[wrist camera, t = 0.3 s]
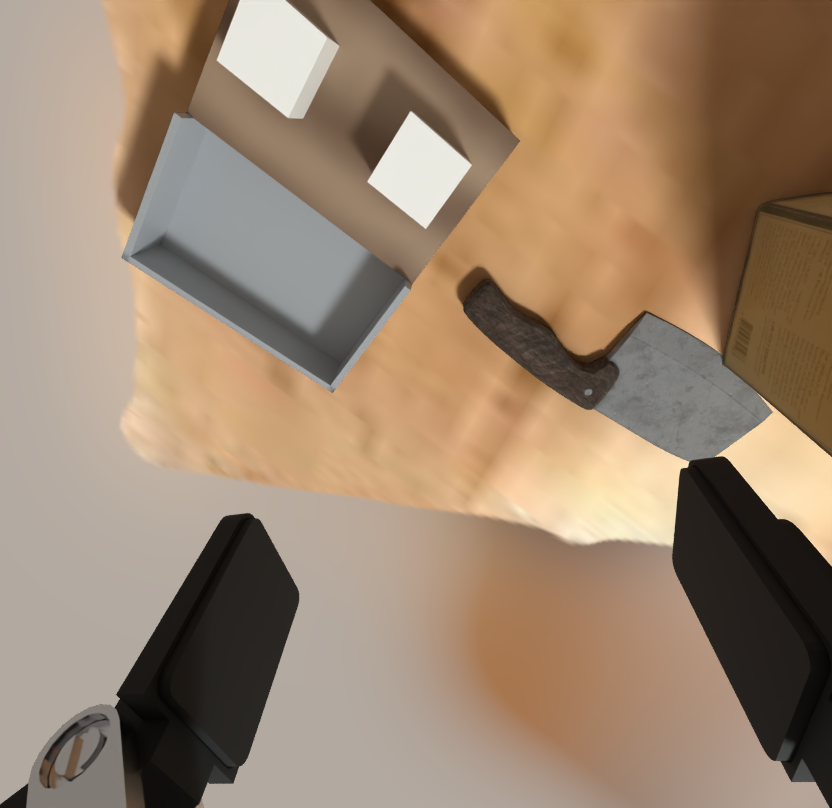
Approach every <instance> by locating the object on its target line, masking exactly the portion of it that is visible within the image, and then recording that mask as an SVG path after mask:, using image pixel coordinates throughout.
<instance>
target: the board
mask: <svg viewBox="0 0 832 808" xmlns="http://www.w3.org/2000/svg"><path fill="white" fill-rule="evenodd" d="M239 1H240V0H229V2H228V4H227V7H226V10H225V12H224V15H223V18H222V20H221V23H220V26H219V28H218V31H217V34H216V36H215V39H214V42H213V44H212V47H211V50H210V52H209V55H208V58H207V60H206V63H205V66H204V68H203V71H202V73H201V76H200V79H199V81H198V84H197V87H196V89H195V92H194V95H193V97H192V100H191V103H190V105H189V108H188V111H187V114H189V115H190V116H191V117H193V118H194V119H195V120H196V121H198V122H199V123H200V124H202V125H203V126H204V127H206V128H207V129H208V130H210V131H211V132H212V133H214V134H215V135H216V136H218V137H219V138H220V139H222V140H223V141H224V142H226V143H227V144H228V145H229V146H231V147H232V148H233V149H235V150H236V151H237V152H239V153H240V154H241V155H243V156H244V157H245V158H247V159H248V160H249V161H251V162H252V163H253V164H255V165H256V166H257V167H258V168H260V169H261V170H262V171H264V172H265V173H266V174H268V175H269V176H270V177H272V178H273V179H274V180H276V181H277V182H278V183H280V184H281V185H282V186H284V187H285V188H286V189H288V190H289V191H290V192H291V193H293V194H294V195H295V196H297V197H298V198H299V199H301V200H302V201H303V202H305V203H306V204H307V205H309V206H310V207H311V208H313V209H314V210H315V211H317V212H318V213H319V214H321V215H322V216H323V217H324V218H326V219H327V220H328V221H330V222H331V223H332V224H334V225H335V226H336V227H338V228H339V229H340V230H342V231H343V232H344V233H346V234H347V235H348V236H350V237H351V238H352V239H353V240H355V241H356V242H357V243H359V244H360V245H361V246H363V247H364V248H365V249H367V250H368V251H369V252H371V253H372V254H373V255H375V256H376V257H377V258H379V259H380V260H381V261H383V262H384V263H385V264H386V265H388V266H389V267H390V268H392V269H393V270H394V271H396V272H397V273H398V274H400V275H401V276H402V277H404V278H405V279H406V280H408V281H409V282H410V283H412V284H413V282H414V281H415V280H416V278H417V277H418V276H419V274H420V273H421V272H422V270H423V269H424V268H425V266H426V265H427V264H428V262H429V261H430V260H431V258H432V257H433V256H434V254H435V253H436V252H437V251H438V249H439V248H440V247H441V245H442V244H443V243H444V241H445V240H446V239H447V237H448V236H449V235H450V233H451V232H452V231H453V229H454V228H455V227H456V225H457V224H458V223H459V221H460V220H461V219H462V217H463V216H464V215H465V213H466V212H467V211H468V209H469V208H470V207H471V206H472V204H473V203H474V202H475V200H476V199H477V198H478V196H479V195H480V194H481V192H482V191H483V190H484V188H485V187H486V186H487V184H488V183H489V182H490V180H491V179H492V178H493V176H494V175H495V174H496V172H497V171H498V170H499V168H500V167H501V166H502V164H503V163H504V162H505V161H506V159H507V158H508V157H509V155H510V154H511V153H512V151H513V150H514V149H515V147H516V146H517V145H518V143H519V142H520V140H519V139H518V138H517V137H516V136H515V135H513V134H512V133H511V132H510V131H509V130H508V129H507V128H506V127H505V126H504V125H503V124H502V123H501V122H500V121H498V120H497V119H496V118H495V117H494V116H493V115H492V114H491V113H490V112H489V111H488V110H487V109H486V108H485V107H484V106H482V105H481V104H480V103H479V102H478V101H477V100H476V99H475V98H474V97H473V96H472V95H471V94H470V93H469V92H468V91H466V90H465V89H464V88H463V87H462V86H461V85H460V84H459V83H458V82H457V81H456V80H455V79H454V78H453V77H452V76H450V75H449V74H448V73H447V72H446V71H445V70H444V69H443V68H442V67H441V66H440V65H439V64H438V63H437V62H435V61H434V60H433V59H432V58H431V57H430V56H429V55H428V54H427V53H426V52H425V51H424V50H423V49H422V48H421V47H419V46H418V45H417V44H416V43H415V42H414V41H413V40H412V39H411V38H410V37H409V36H408V35H407V34H406V33H405V32H403V31H402V30H401V29H400V28H399V27H398V26H397V25H396V24H395V23H394V22H393V21H392V20H391V19H390V18H389V17H387V16H386V15H385V14H384V13H383V12H382V11H381V10H380V9H379V8H378V7H377V6H376V5H375V4H374V3H372V2H371V1H370V0H288V1H289V2H291V3H292V4H293V5H294V6H295V7H296V8H297V9H299V10H300V11H301V12H302V13H303V14H304V15H305V16H306V17H308V18H309V19H310V20H311V21H312V22H313V23H314V24H315V25H317V26H318V27H319V28H320V29H321V30H322V31H323V32H324V33H326V34H327V35H328V36H329V37H330V38H331V39H332V40H334V41H335V42H336V43H337V44H338V45H339V48H338V50H337V52H336V54H335V56H334V58H333V60H332V62H331V64H330V66H329V68H328V70H327V72H326V74H325V76H324V78H323V80H322V82H321V84H320V86H319V88H318V90H317V92H316V94H315V96H314V98H313V100H312V102H311V104H310V106H309V108H308V110H307V112H306V114H305V116H304V118H303V119H297V118H287V117H286V116H285V115H284V114H282V113H281V112H280V111H279V110H277V109H276V108H275V107H274V106H272V105H271V104H270V103H269V102H268V101H266V100H265V99H264V98H263V97H261V96H260V95H259V94H258V93H256V92H255V91H254V90H253V89H251V88H250V87H249V86H248V85H246V84H245V83H244V82H243V81H241V80H240V79H239V78H238V77H237V76H235V75H234V74H233V73H232V72H230V71H229V70H228V69H227V68H225V67H224V66H223V65H222V64H220V63H219V62H218V61H217V58H218V56H219V53H220V50H221V48H222V45H223V43H224V40H225V37H226V35H227V32H228V30H229V27H230V24H231V22H232V19H233V17H234V14H235V12H236V9H237V6H238V4H239ZM410 111H412V112H415V113H416V114H417V115H418V116H419V117H421V118H422V119H423V120H424V121H425V122H426V123H427V124H428V125H430V126H431V127H432V128H433V129H434V130H435V131H436V132H437V133H439V134H440V135H441V136H442V137H443V138H444V139H445V140H447V141H448V142H449V143H450V144H451V145H452V146H453V147H454V148H456V149H457V150H458V151H459V152H460V153H461V154H462V155H463V156H465V157H466V158H467V159H468V160H469V161H470V162H471V164H472V166H471V167H470V169H469V170H468V171H467V173H466V174H465V175H464V177H463V178H462V180H461V181H460V182H459V184H458V185H457V187H456V188H455V189H454V191H453V192H452V193H451V195H450V196H449V198H448V199H447V200H446V202H445V203H444V205H443V206H442V207H441V209H440V210H439V212H438V213H437V214H436V216H435V217H434V218H433V220H432V221H431V223H430V224H429V225H428V227H427V228H426V229H425V228H424V227H423V226H421V225H420V224H419V223H418V222H416V221H415V220H414V219H413V218H411V217H410V216H409V215H408V214H406V213H405V212H404V211H403V210H402V209H400V208H399V207H398V206H397V205H395V204H394V203H393V202H392V201H390V200H389V199H388V198H387V197H385V196H384V195H383V194H382V193H380V192H379V191H378V190H377V189H375V188H374V187H373V186H372V185H370V184H369V183H368V182H367V181H368V180H369V178H370V176H371V175H372V173H373V171H374V170H375V168H376V167H377V165H378V163H379V162H380V160H381V158H382V157H383V155H384V154H385V152H386V150H387V149H388V147H389V145H390V144H391V142H392V141H393V139H394V137H395V136H396V134H397V132H398V131H399V129H400V127H401V126H402V124H403V123H404V121H405V119H406V118H407V116H408V114H409V113H410Z"/></svg>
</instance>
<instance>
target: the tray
mask: <svg viewBox="0 0 832 808" xmlns="http://www.w3.org/2000/svg"><path fill="white" fill-rule="evenodd" d="M122 258H123V259H124V260H126V261H127V262H129V263H130V264H132V265H134V266H135V267H137V268H138V269H140V270H141V271H143V272H144V273H146V274H148V275H149V276H151V277H152V278H154V279H155V280H157V281H158V282H160V283H162V284H163V285H165V286H166V287H168V288H169V289H171V290H173V291H174V292H176V293H177V294H179V295H180V296H182V297H183V298H185V299H187V300H188V301H190V302H191V303H193V304H194V305H196V306H197V307H199V308H201V309H202V310H204V311H205V312H207V313H208V314H210V315H212V316H213V317H215V318H216V319H218V320H219V321H221V322H222V323H224V324H226V325H227V326H229V327H230V328H232V329H233V330H235V331H237V332H238V333H240V334H241V335H243V336H244V337H246V338H247V339H249V340H251V341H252V342H254V343H255V344H257V345H258V346H260V347H261V348H263V349H265V350H266V351H268V352H269V353H271V354H272V355H274V356H276V357H277V358H279V359H280V360H282V361H283V362H285V363H286V364H288V365H290V366H291V367H293V368H294V369H296V370H297V371H299V372H301V373H302V374H304V375H305V376H307V377H308V378H310V379H311V380H313V381H315V382H316V383H318V384H319V385H321V386H322V387H324V388H325V389H327V390H329V391H330V392H332V393H333V392H334V390H335V389H336V388H337V386H338V385H339V384H340V382H341V381H342V380H343V378H344V377H345V376H346V375H347V373H348V372H349V371H350V369H351V368H352V367H353V365H354V364H355V363H356V361H357V360H358V359H359V357H360V356H361V355H362V353H363V352H364V351H365V350H366V348H367V347H368V346H369V344H370V343H371V342H372V340H373V339H374V338H375V336H376V335H377V334H378V332H379V331H380V330H381V328H382V327H383V326H384V325H385V323H386V322H387V321H388V319H389V318H390V317H391V315H392V314H393V313H394V311H395V310H396V309H397V307H398V306H399V305H400V303H401V302H402V301H403V299H404V298H405V297H406V296H407V294H408V293H409V292H410V290H411V287H412V283H410V282H409V281H408V280H406V279H405V278H404V277H402V276H401V275H400V274H398V273H397V272H396V271H394V270H393V269H392V268H390V267H389V266H388V265H386V264H385V263H384V262H383V261H381V260H380V259H379V258H377V257H376V256H375V255H373V254H372V253H371V252H369V251H368V250H367V249H365V248H364V247H363V246H361V245H360V244H359V243H357V242H356V241H355V240H353V239H352V238H351V237H350V236H348V235H347V234H346V233H344V232H343V231H342V230H340V229H339V228H338V227H336V226H335V225H334V224H332V223H331V222H330V221H328V220H327V219H326V218H324V217H323V216H322V215H321V214H319V213H318V212H317V211H315V210H314V209H313V208H311V207H310V206H309V205H307V204H306V203H305V202H303V201H302V200H301V199H299V198H298V197H297V196H295V195H294V194H293V193H291V192H290V191H289V190H288V189H286V188H285V187H284V186H282V185H281V184H280V183H278V182H277V181H276V180H274V179H273V178H272V177H270V176H269V175H268V174H266V173H265V172H264V171H262V170H261V169H260V168H258V167H257V166H256V165H255V164H253V163H252V162H251V161H249V160H248V159H247V158H245V157H244V156H243V155H241V154H240V153H239V152H237V151H236V150H235V149H233V148H232V147H231V146H229V145H228V144H227V143H226V142H224V141H223V140H222V139H220V138H219V137H218V136H216V135H215V134H214V133H212V132H211V131H210V130H208V129H207V128H206V127H204V126H203V125H202V124H200V123H199V122H198V121H196V120H195V119H194V118H193V117H191V116H190V115H189V114H187V113H175V112H174V114H173V117H172V120H171V123H170V125H169V128H168V131H167V134H166V136H165V139H164V142H163V145H162V148H161V150H160V153H159V156H158V159H157V161H156V164H155V167H154V170H153V172H152V175H151V178H150V181H149V183H148V186H147V189H146V192H145V194H144V197H143V200H142V203H141V205H140V208H139V211H138V214H137V216H136V219H135V222H134V225H133V227H132V230H131V233H130V236H129V238H128V241H127V244H126V247H125V249H124V252H123V255H122Z"/></svg>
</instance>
